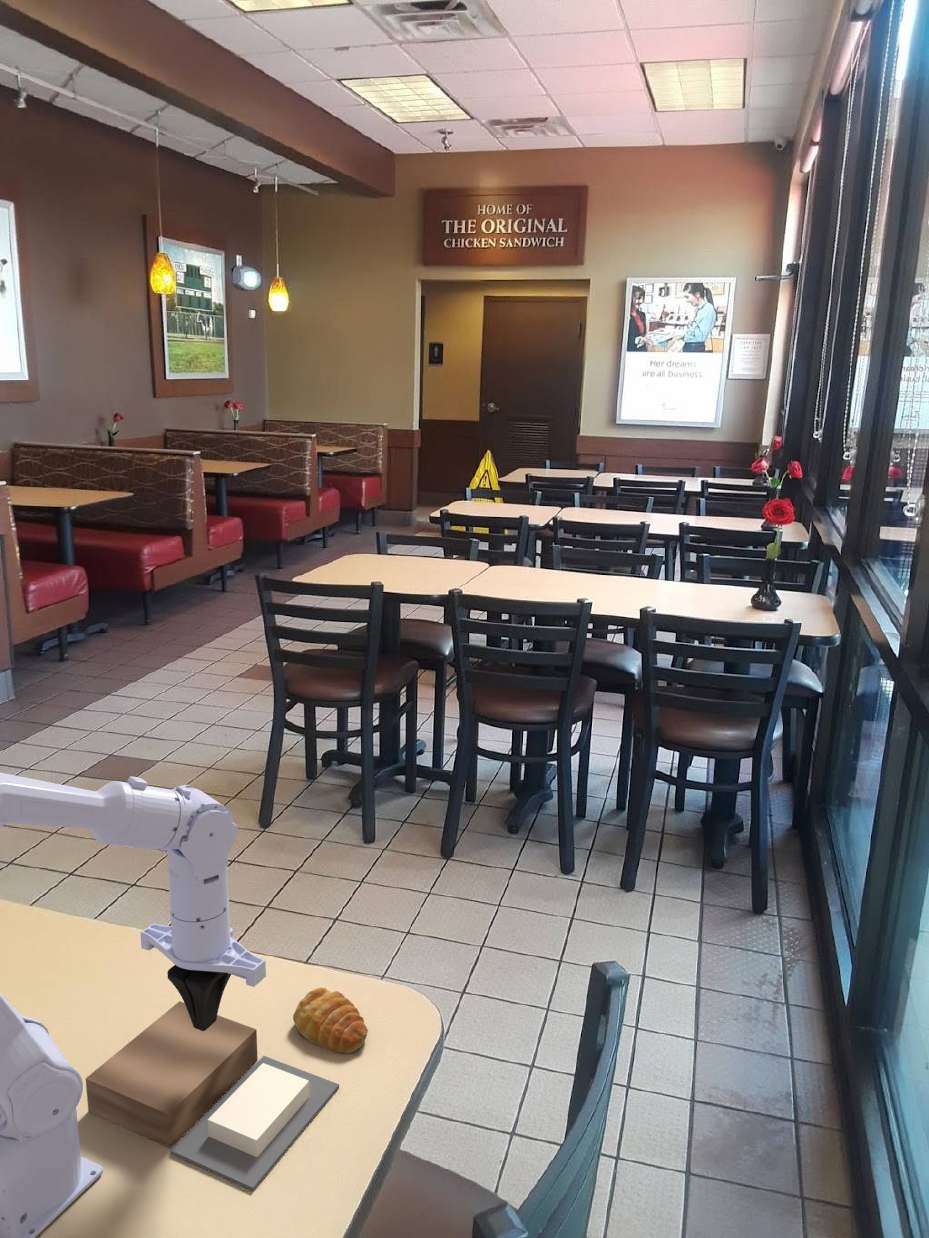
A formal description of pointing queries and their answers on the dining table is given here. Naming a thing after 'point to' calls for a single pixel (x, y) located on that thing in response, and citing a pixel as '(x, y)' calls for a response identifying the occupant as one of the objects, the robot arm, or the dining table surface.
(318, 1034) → the pastry
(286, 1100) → the block
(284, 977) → the dining table surface
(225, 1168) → the mat
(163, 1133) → the brown wooden block
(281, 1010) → the dining table surface
